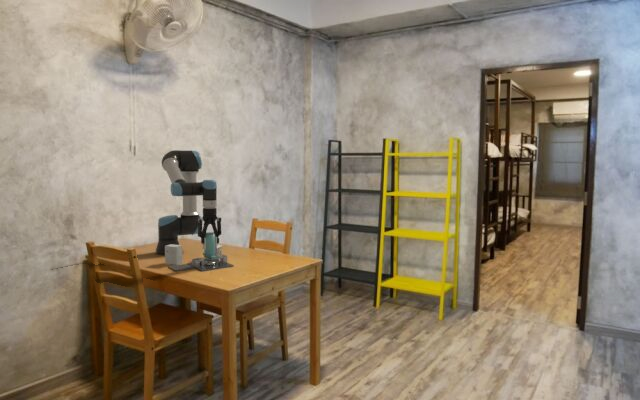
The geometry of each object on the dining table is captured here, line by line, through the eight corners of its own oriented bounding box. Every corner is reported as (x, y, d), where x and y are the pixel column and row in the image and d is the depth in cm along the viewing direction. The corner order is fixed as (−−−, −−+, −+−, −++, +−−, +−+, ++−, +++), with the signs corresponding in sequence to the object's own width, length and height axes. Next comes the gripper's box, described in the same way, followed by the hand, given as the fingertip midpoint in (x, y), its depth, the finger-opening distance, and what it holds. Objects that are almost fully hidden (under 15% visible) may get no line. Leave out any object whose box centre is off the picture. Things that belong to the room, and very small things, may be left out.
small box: (182, 263, 262) (182, 245, 261) (176, 265, 256) (176, 246, 255) (171, 261, 264) (170, 244, 263) (164, 263, 259) (164, 245, 258)
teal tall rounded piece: (209, 259, 250) (209, 235, 248) (200, 255, 259) (199, 231, 258) (219, 258, 254) (219, 234, 252) (209, 254, 263) (209, 230, 262)
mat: (167, 267, 250) (167, 266, 250) (186, 264, 258) (186, 263, 258) (176, 271, 242) (176, 270, 242) (195, 268, 249) (195, 267, 249)
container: (217, 260, 270) (216, 238, 269) (204, 259, 271) (204, 238, 270) (222, 257, 277) (222, 236, 276) (210, 256, 279) (210, 235, 278)
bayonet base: (186, 264, 257) (186, 256, 257) (217, 260, 270) (217, 252, 270) (201, 271, 243) (201, 262, 243) (233, 266, 256) (233, 258, 255)
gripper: (196, 209, 244) (197, 251, 247) (228, 207, 257) (228, 247, 259) (190, 207, 250) (191, 249, 253) (221, 205, 262) (221, 245, 265)
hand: (209, 248), depth 256 cm, fingers closed on teal tall rounded piece, 6 cm apart
